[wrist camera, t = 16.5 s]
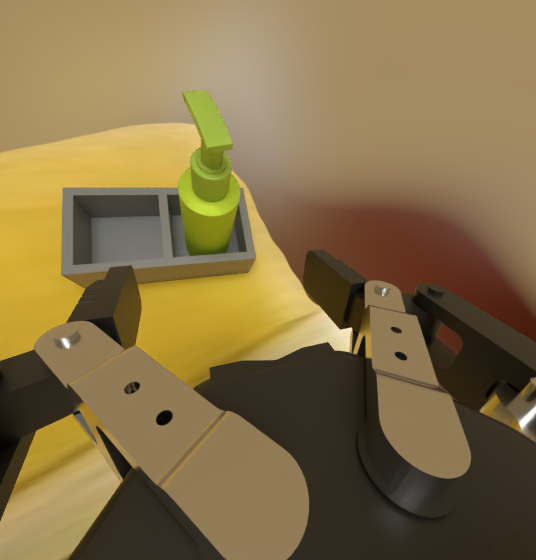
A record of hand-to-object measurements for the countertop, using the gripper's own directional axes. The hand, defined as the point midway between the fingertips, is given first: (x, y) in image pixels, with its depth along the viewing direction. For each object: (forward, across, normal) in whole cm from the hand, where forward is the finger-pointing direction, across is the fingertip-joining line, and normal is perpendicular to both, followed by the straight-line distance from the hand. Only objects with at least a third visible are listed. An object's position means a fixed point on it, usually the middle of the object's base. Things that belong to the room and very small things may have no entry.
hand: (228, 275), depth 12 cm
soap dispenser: (+25, -1, +8) cm, 26 cm away
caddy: (+26, +4, +8) cm, 27 cm away
